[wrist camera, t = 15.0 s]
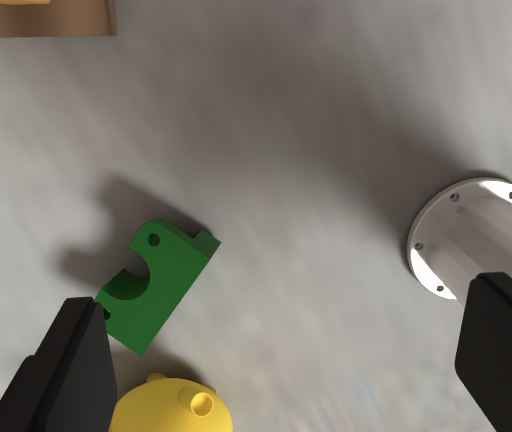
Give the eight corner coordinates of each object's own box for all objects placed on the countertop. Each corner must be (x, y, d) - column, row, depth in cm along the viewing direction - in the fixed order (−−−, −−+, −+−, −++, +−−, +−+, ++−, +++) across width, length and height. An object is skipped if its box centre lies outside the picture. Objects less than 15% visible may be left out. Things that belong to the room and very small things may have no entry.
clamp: (170, 208, 45) (161, 197, 36) (219, 243, 45) (223, 241, 36) (96, 309, 43) (67, 324, 34) (147, 344, 43) (132, 369, 34)
